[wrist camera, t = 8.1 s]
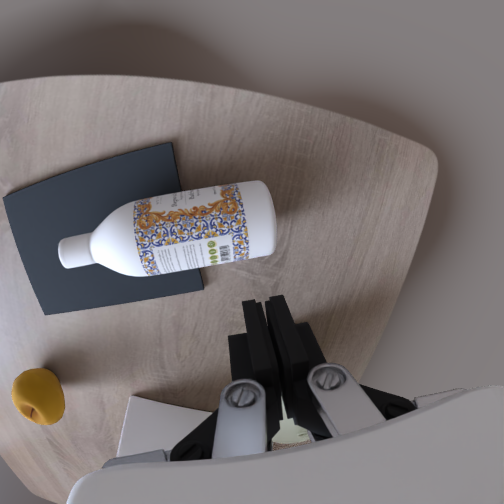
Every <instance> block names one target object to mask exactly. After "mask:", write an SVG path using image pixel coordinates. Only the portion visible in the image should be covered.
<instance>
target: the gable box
mask: <svg viewBox="0 0 504 504" xmlns="http://www.w3.org/2000/svg"><path fill="white" fill-rule="evenodd" d="M211 414H212V412H206V411H201V410H195V409H190V408H184V407H179V406H175V405H170V404H165V403H161V402H157V401H152V400H148V399H144V398H140V397H137V396H133V395H132V396H130V397H129V401H128V405H127V409H126V414H125V418H124V422H123V427H122V432H121V436H120V441H119V446H118V451H117V456H116V458H117V457H123V456H129V455H135V454H140V453H145V452H150V451H155V450H160V449H164V450H165V451H168V450H172V449H173V447H174V446H175V445H176V444H177V443H178V442H180V441H181V440H182V439H183V438H184V437H186V436H187V435H188V434H189V433H190V432H191V431H193V430H194V429H195V428H196V427H197V426H198V425H200V424H201V423H202V422H203V421H204V420H205V419H206V418H208V417H209V416H210V415H211Z"/></svg>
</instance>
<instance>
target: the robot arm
mask: <svg viewBox="0 0 504 504" xmlns="http://www.w3.org/2000/svg"><path fill="white" fill-rule="evenodd" d="M269 300H270V301H265V308H266V316H267V323H266V319H265V315H264V311H263V308H262V304H261V302H258V303H256V301H255V299H254V300H248V301H242V306H243V312H244V318H245V324H246V330H247V333H243V334H236V335H230V336H228V342H229V353H230V364H231V375H232V382H231V383H229V384H228V385H226V386H225V388H224V389H223V390H222V393H221V396H220V403H219V408H218V409H216V410H215V411H214V412H213V413H212V414H211V415H210V416H209V417H208V418H206V419H205V420H204V421H203V422H202V423H201V424H200V425H198V426H197V427H196V428H195V429H194V430H193V431H191V432H190V433H189V434H188V435H187V436H186V437H184V438H183V439H182V440H181V441H180V442H178V443H177V444H176V445H175V446H174V447H173V449H172V450H168V451H165V450H164V449H160V450H155V451H150V452H145V453H140V454H135V455H129V456H123V457H117V458H113V459H110V460H108V461H107V462H106V463H105V464H104V465H103V467H102V469H100V470H96V471H94V472H91V473H89V474H87V475H85V476H83V477H82V478H80V479H79V480H78V481H77V482H76V483H75V485H74V487H73V488H72V490H71V492H70V495H69V497H68V500H67V503H66V504H504V387H502V386H484V387H477V388H472V389H469V390H466V389H462V388H460V389H453V390H449V391H444V392H440V393H435V394H430V395H425V396H420V397H415V398H414V400H413V401H409V400H408V399H405V398H403V397H400V396H396V395H393V394H389V393H386V392H383V391H379V390H376V389H373V388H370V387H367V386H364V385H361V384H358V383H357V381H356V380H355V379H354V377H353V376H352V375H351V374H350V372H349V371H348V370H347V369H346V368H345V367H344V366H342V365H340V364H336V363H327V362H326V360H325V358H324V356H323V353H322V351H321V349H320V347H319V345H318V343H317V340H316V338H315V336H314V334H313V332H312V330H311V327H310V325H309V324H308V322H304V323H299V324H295V323H294V321H293V318H292V316H291V313H290V311H289V308H288V306H287V303H286V301H285V298H284V296H283V295H278V296H272V297H269ZM267 325H268V326H267ZM281 396H282V399H281ZM282 400H283V404H284V407H285V411H286V415H287V418H288V419H291V418H293V421H294V425H298V426H300V427H302V428H304V429H307V433H308V436H309V438H310V440H311V442H312V443H309V444H305V445H300V446H295V447H291V448H285V449H280V450H275V451H273V441H272V438H273V437H274V436H275V435H276V434H277V432H278V431H279V430H280V421H281V420H283V410H282Z"/></svg>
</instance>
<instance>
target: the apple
mask: <svg viewBox="0 0 504 504" xmlns="http://www.w3.org/2000/svg"><path fill="white" fill-rule="evenodd" d="M12 399H13V402H14V405H15V406H16V408H17V409H18V411H19V412H20V413H21V414H22V415H23V416H24V417H26V418H27V419H29V420H31V421H33V422H35V423H37V424H41V425H51V424H54V423H57V422H58V421H59V420H60V419H61V418H62V416H63V413H64V410H65V400H64V393H63V390H62V387H61V385H60V382H59V380H58V378H57V377H56V375H55V374H54V373H52V372H51V371H49V370H47V369H43V368H36V369H30V370H27V371H24V372H23V373H22V374H20V375H19V376H18V377H17V378H16V379H15V381H14V383H13V387H12Z"/></svg>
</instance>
